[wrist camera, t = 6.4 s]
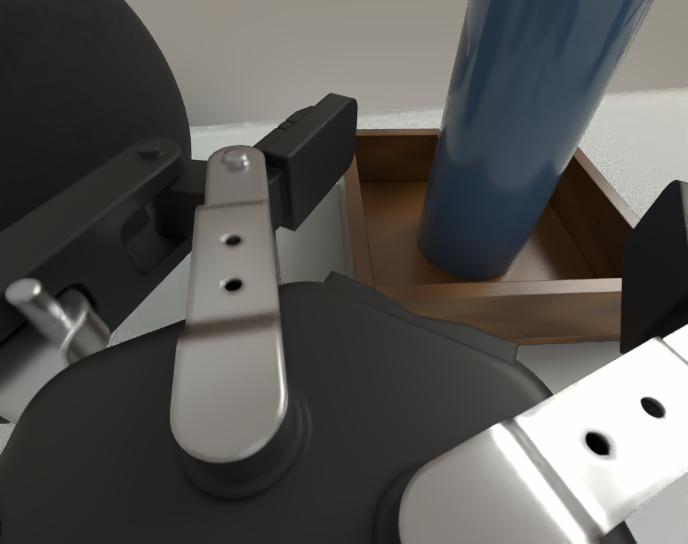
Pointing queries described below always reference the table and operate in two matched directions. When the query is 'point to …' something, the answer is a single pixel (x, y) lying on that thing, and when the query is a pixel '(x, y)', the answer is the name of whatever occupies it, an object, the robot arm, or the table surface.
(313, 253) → the table surface
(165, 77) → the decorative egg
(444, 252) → the canister
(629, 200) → the table surface
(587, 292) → the wooden box
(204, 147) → the table surface
